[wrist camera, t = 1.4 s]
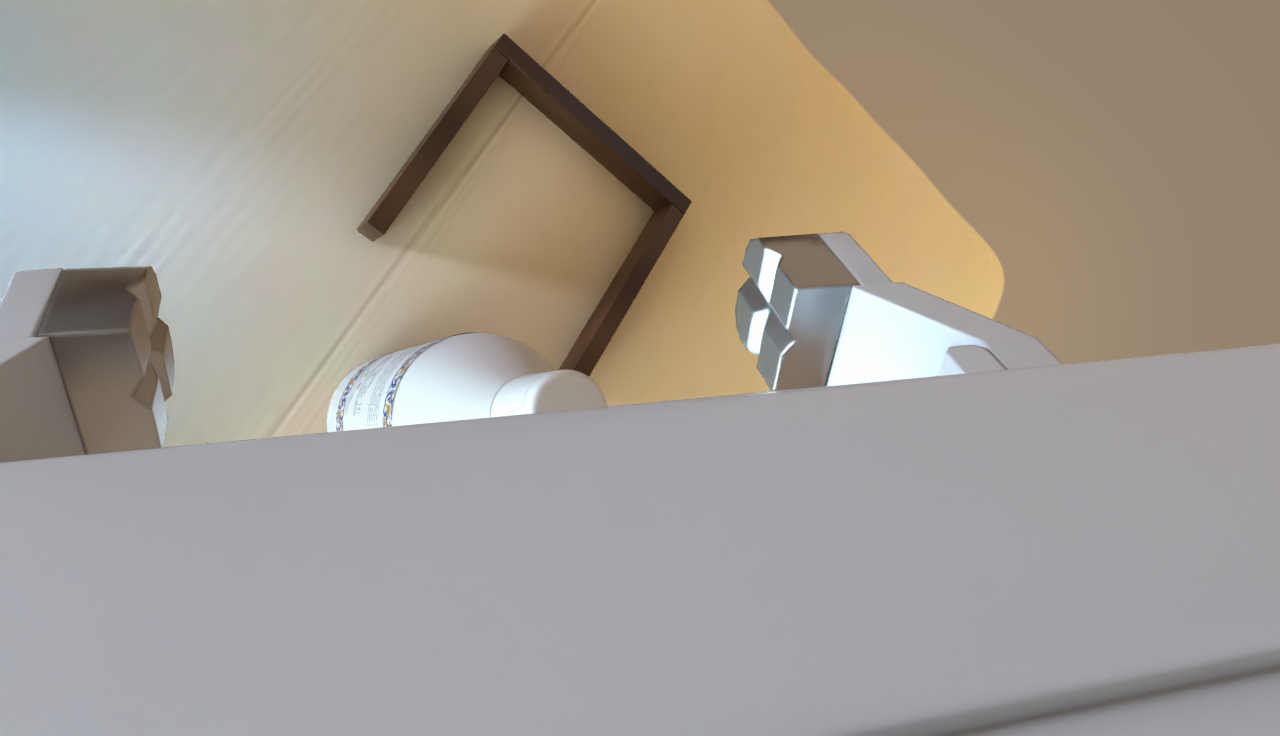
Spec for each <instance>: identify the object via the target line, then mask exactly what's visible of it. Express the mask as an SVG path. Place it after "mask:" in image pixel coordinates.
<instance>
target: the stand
mask: <svg viewBox="0 0 1280 736" xmlns="http://www.w3.org/2000/svg"><path fill="white" fill-rule="evenodd" d="M498 74H499V75H500V76H501V77H502V78H503V79H504V80H506V81H507V82H508V83H509V84H510V85H511V86H512V87H514V88H515V89H516V90H517V91H518V92H519V93H521V94H522V95H523V96H524V97H525V98H526V99H527V100H529V101H530V102H531V103H532V104H533V105H534V106H535V107H537V108H538V109H539V110H540V111H541V112H542V113H543V114H545V115H546V116H547V117H548V118H549V119H550V120H551V121H553V122H554V123H555V124H556V125H557V126H558V127H559V128H561V129H562V130H563V131H564V132H565V133H566V134H567V135H569V136H570V137H571V138H572V139H573V140H574V141H575V142H577V143H578V144H579V145H580V146H581V147H582V148H583V149H585V150H586V151H587V152H588V153H589V154H590V155H592V156H593V157H594V158H595V159H596V160H597V161H598V162H600V163H601V164H602V165H603V166H604V167H605V168H606V169H608V170H609V171H610V172H611V173H612V174H613V175H614V176H616V177H617V178H618V179H619V180H620V181H621V182H622V183H624V184H625V185H626V186H627V187H628V188H629V189H630V190H632V191H633V192H634V193H635V194H636V195H637V196H638V197H640V198H641V199H642V200H643V201H644V202H645V203H646V204H648V205H649V206H650V207H651V208H652V209H653V210H654V213H653V214H652V216H651V218H650V219H649V221H648V223H647V224H646V226H645V228H644V229H643V231H642V233H641V234H640V236H639V238H638V239H637V241H636V243H635V244H634V246H633V248H632V249H631V251H630V253H629V254H628V256H627V258H626V259H625V261H624V263H623V264H622V266H621V268H620V269H619V271H618V273H617V274H616V276H615V278H614V279H613V281H612V283H611V284H610V286H609V288H608V289H607V291H606V293H605V294H604V296H603V298H602V299H601V301H600V303H599V304H598V306H597V308H596V309H595V311H594V313H593V314H592V316H591V318H590V319H589V321H588V323H587V324H586V326H585V328H584V329H583V331H582V333H581V334H580V336H579V337H578V339H577V341H576V342H575V344H574V346H573V347H572V349H571V351H570V352H569V354H568V356H567V357H566V359H565V361H564V362H563V364H562V366H561V367H560V369H559V370H574V371H578V372H581V373H583V374H585V375H587V376H588V377H589V376H590V374H591V372H592V371H593V369H594V367H595V365H596V364H597V362H598V360H599V359H600V357H601V355H602V353H603V352H604V350H605V348H606V347H607V345H608V343H609V342H610V340H611V338H612V336H613V335H614V333H615V331H616V330H617V328H618V326H619V325H620V323H621V321H622V319H623V318H624V316H625V314H626V313H627V311H628V309H629V307H630V306H631V304H632V302H633V301H634V299H635V297H636V296H637V294H638V292H639V290H640V289H641V287H642V285H643V284H644V282H645V280H646V278H647V277H648V275H649V273H650V272H651V270H652V268H653V267H654V265H655V263H656V261H657V260H658V258H659V256H660V255H661V253H662V251H663V249H664V248H665V246H666V244H667V243H668V241H669V239H670V238H671V236H672V234H673V232H674V231H675V229H676V227H677V226H678V224H679V222H680V221H681V219H682V217H683V215H684V214H685V212H686V210H687V209H688V207H689V205H690V204H691V200H689V199H688V198H687V197H686V196H685V195H684V194H683V193H682V192H681V191H679V190H678V189H677V188H676V187H675V186H674V185H673V184H672V183H671V182H669V181H668V180H667V179H666V178H665V177H664V176H663V175H662V174H660V173H659V172H658V171H657V170H656V169H655V168H654V167H653V166H652V165H650V164H649V163H648V162H647V161H646V160H645V159H644V158H643V157H641V156H640V155H639V154H638V153H637V152H636V151H635V150H634V149H633V148H631V147H630V146H629V145H628V144H627V143H626V142H625V141H624V140H623V139H621V138H620V137H619V136H618V135H617V134H616V133H615V132H614V131H612V130H611V129H610V128H609V127H608V126H607V125H606V124H605V123H604V122H602V121H601V120H600V119H599V118H598V117H597V116H596V115H595V114H594V113H592V112H591V111H590V110H589V109H588V108H587V107H586V106H585V105H583V104H582V103H581V102H580V101H579V100H578V99H577V98H576V97H575V96H573V95H572V94H571V93H570V92H569V91H568V90H567V89H566V88H564V87H563V86H562V85H561V84H560V83H559V82H558V81H557V80H556V79H554V78H553V77H552V76H551V75H550V74H549V73H548V72H547V71H546V70H544V69H543V68H542V67H541V66H540V65H539V64H538V63H537V62H535V61H534V60H533V59H532V58H531V57H530V56H529V55H528V54H527V53H525V52H524V51H523V50H522V49H521V48H520V47H519V46H518V45H517V44H515V43H514V42H513V41H512V40H511V39H510V38H509V37H508V36H506V35H505V34H503V35H502V36H501V37H500V38H499V39H498V40H497V41H496V42H494V43H493V44H492V45H491V46H490V47H489V49H488V50H487V52H486V53H485V54H484V56H483V57H482V59H481V60H480V61H479V63H478V64H477V65H476V67H475V68H474V70H473V71H472V72H471V74H470V75H469V76H468V78H467V79H466V80H465V82H464V83H463V85H462V86H461V87H460V89H459V90H458V91H457V93H456V94H455V96H454V97H453V98H452V100H451V101H450V102H449V104H448V105H447V107H446V108H445V109H444V111H443V112H442V113H441V115H440V116H439V118H438V119H437V120H436V122H435V123H434V124H433V126H432V127H431V129H430V130H429V131H428V133H427V134H426V135H425V137H424V138H423V140H422V141H421V142H420V144H419V145H418V146H417V148H416V149H415V150H414V152H413V153H412V155H411V156H410V157H409V159H408V160H407V161H406V163H405V164H404V166H403V167H402V168H401V170H400V171H399V172H398V174H397V175H396V177H395V178H394V179H393V181H392V182H391V183H390V185H389V186H388V188H387V189H386V190H385V192H384V193H383V194H382V196H381V197H380V199H379V200H378V201H377V203H376V204H375V205H374V207H373V208H372V210H371V211H370V212H369V214H368V215H367V216H366V218H365V219H364V221H363V222H362V223H361V225H360V226H359V227H358V229H357V230H358V231H359V232H360V233H361V234H363V235H364V236H365V237H367V238H368V239H369V240H371V241H375V240H376V239H378V238H379V237H381V236H382V235H384V234H385V233H386V231H387V230H388V228H389V227H390V226H391V224H392V223H393V221H394V220H395V219H396V217H397V216H398V214H399V213H400V212H401V210H402V209H403V207H404V206H405V205H406V203H407V202H408V200H409V199H410V198H411V196H412V195H413V193H414V192H415V191H416V189H417V188H418V186H419V185H420V184H421V182H422V181H423V179H424V178H425V177H426V175H427V174H428V172H429V171H430V170H431V168H432V167H433V165H434V164H435V163H436V161H437V160H438V158H439V157H440V156H441V154H442V153H443V151H444V150H445V149H446V147H447V146H448V144H449V143H450V142H451V140H452V139H453V137H454V136H455V135H456V133H457V132H458V130H459V129H460V128H461V126H462V125H463V123H464V122H465V121H466V119H467V118H468V116H469V115H470V114H471V112H472V111H473V109H474V108H475V107H476V105H477V104H478V102H479V101H480V100H481V98H482V97H483V95H484V94H485V93H486V91H487V90H488V88H489V87H490V86H491V84H492V83H493V81H494V80H495V79H496V77H497V76H498Z"/></svg>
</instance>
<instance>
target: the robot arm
mask: <svg viewBox="0 0 1280 736" xmlns="http://www.w3.org/2000/svg"><path fill="white" fill-rule="evenodd" d="M743 266H744V268H745V269H746V271H747V273H748V274H749V276H750V278H749V279H748V280H747V281H746V282H745V283H744V284H743V286H742V287H741V288H740V289H739V290H738V295H737V302H736V309H735V313H736V326H737V330H738V334H739V337H740V340H741V342H742V343H743V345H744V347H745V349H746V350H748V351H750V352H752V353H753V354H755V355H757V356H759V357H758V362H757V369H758V370H759V372H760V373H761V375H762V377H763V378H764V380H765V382H766V383H767V385H768V386H769V388H770V390H771V392H760V393H749V394H738V395H728V396H717V397H706V398H695V399H685V400H674V401H663V402H652V403H642V404H631V405H620V406H609V407H598V408H588V409H577V410H566V411H555V412H544V413H533V414H522V415H511V416H501V417H490V418H479V419H468V420H457V421H446V422H435V423H424V424H414V425H403V426H392V427H381V428H370V429H359V430H348V431H337V432H327V433H316V434H305V435H294V436H283V437H272V438H261V439H251V440H240V441H229V442H218V443H207V444H196V445H185V446H175V447H164V448H162V447H163V442H164V436H165V431H166V426H167V421H168V414H167V410H166V406H165V400H167V399H168V398H169V397H170V396H172V392H173V386H174V356H173V348H172V341H171V337H170V332H169V327H168V325H166V324H165V323H164V322H163V321H162V320H160V319H159V318H158V312H159V307H160V302H161V297H162V296H161V292H160V288H159V284H158V281H157V277H156V274H155V272H154V270H153V268H152V267H151V266H145V267H112V268H79V269H65V270H63V269H62V268H58V269H43V270H29V271H20V272H16V273H15V274H14V275H13V277H12V279H11V281H10V283H9V285H8V288H7V290H6V292H5V294H4V296H3V298H2V300H1V303H0V736H1280V344H1271V345H1263V346H1253V347H1243V348H1235V349H1224V350H1214V351H1203V352H1192V353H1181V354H1170V355H1159V356H1148V357H1137V358H1126V359H1115V360H1104V361H1094V362H1083V363H1072V364H1063V363H1062V362H1061V361H1060V360H1059V359H1058V358H1057V357H1056V356H1055V355H1054V354H1053V353H1052V352H1051V351H1050V350H1049V349H1047V347H1046V346H1045V345H1044V344H1042V343H1041V342H1040V341H1039V340H1038V339H1037V338H1036V337H1033V336H1031V335H1028V334H1026V333H1024V332H1021V331H1019V330H1016V329H1013V328H1011V327H1009V326H1007V325H1004V324H1002V323H999V322H997V321H994V320H992V319H990V318H987V317H985V316H982V315H980V314H977V313H975V312H973V311H970V310H968V309H965V308H963V307H961V306H958V305H956V304H953V303H951V302H948V301H946V300H944V299H941V298H939V297H936V296H934V295H931V294H929V293H927V292H924V291H922V290H919V289H917V288H914V287H912V286H910V285H907V284H905V283H902V282H901V283H893V282H892V281H891V280H890V279H889V278H888V277H887V276H886V274H885V273H884V272H883V271H882V270H881V269H880V268H879V267H878V266H877V264H876V263H875V262H874V261H873V260H872V259H871V258H870V257H869V255H868V254H867V253H866V252H865V251H864V250H863V249H862V248H861V247H860V245H859V244H858V243H857V242H856V241H855V240H854V239H853V238H852V237H851V235H850V234H847V233H844V232H834V233H823V234H806V235H793V236H779V237H765V238H756V239H751V240H750V241H749V243H748V246H747V248H746V250H745V256H744V261H743Z"/></svg>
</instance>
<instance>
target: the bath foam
mask: <svg viewBox="0 0 1280 736" xmlns="http://www.w3.org/2000/svg"><path fill="white" fill-rule="evenodd" d="M598 407H607V404H606V400H605V397H604V395H603V393H602V391H601V389H600V388H599V386H598V385H597V384H596V383H595V382H594V381H593V380H592V379H591V378H590V377H588V376H587V375H585V374H583V373H581V372H578V371H574V370H556V371H554V370H553V369H552V367H551V366H550V365H549V364H548V363H547V362H546V361H545V360H544V359H543V358H542V357H541V356H540V355H539V354H538V353H536V352H535V351H534V350H532V349H531V348H529V347H528V346H526V345H524V344H522V343H520V342H518V341H516V340H513V339H511V338H508V337H504V336H500V335H496V334H488V333H463V334H458V335H454V336H451V337H447V338H444V339H440V340H436V341H433V342H429V343H426V344H422V345H418V346H415V347H411V348H408V349H404V350H401V351H397V352H393V353H390V354H387V355H383V356H380V357H377V358H374V359H372V360H370V361H367V362H365V363H363V364H361V365H360V366H358V367H357V368H355V369H354V370H352V371H351V372H350V373H349V374H348V375H347V376H346V377H345V378H344V379H343V381H342V382H341V383H340V385H339V386H338V388H337V389H336V391H335V393H334V395H333V397H332V400H331V403H330V406H329V410H328V416H327V432H337V431H348V430H359V429H370V428H381V427H392V426H403V425H414V424H424V423H435V422H446V421H457V420H468V419H479V418H490V417H501V416H511V415H522V414H533V413H544V412H555V411H566V410H577V409H588V408H598Z"/></svg>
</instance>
